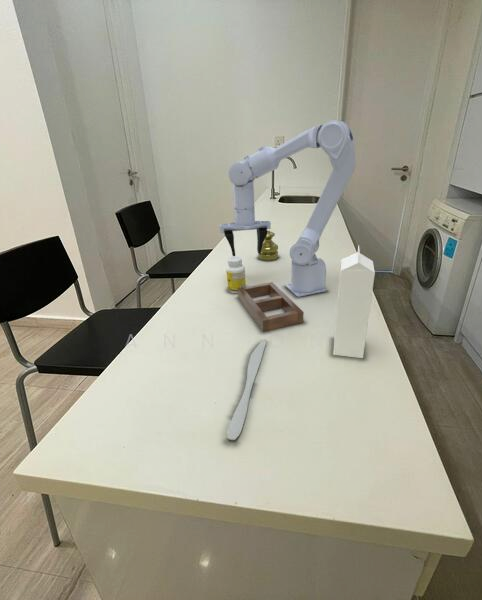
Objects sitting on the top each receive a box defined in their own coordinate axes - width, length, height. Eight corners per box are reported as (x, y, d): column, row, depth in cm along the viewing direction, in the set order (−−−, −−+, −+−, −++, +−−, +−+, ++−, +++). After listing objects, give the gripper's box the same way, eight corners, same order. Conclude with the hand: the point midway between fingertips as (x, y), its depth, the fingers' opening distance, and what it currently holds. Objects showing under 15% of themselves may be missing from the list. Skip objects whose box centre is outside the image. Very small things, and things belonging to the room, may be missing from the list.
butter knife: (219, 436, 50) (238, 438, 50) (256, 339, 74) (269, 340, 73) (219, 439, 50) (238, 441, 50) (256, 342, 74) (269, 342, 73)
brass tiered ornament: (281, 256, 124) (281, 229, 119) (271, 262, 118) (271, 235, 114) (264, 253, 127) (264, 227, 123) (254, 259, 122) (253, 232, 117)
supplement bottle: (227, 286, 101) (225, 256, 96) (245, 285, 101) (243, 255, 97) (228, 294, 96) (225, 262, 91) (246, 293, 96) (245, 261, 92)
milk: (333, 355, 68) (341, 254, 58) (334, 339, 74) (341, 243, 64) (363, 358, 67) (377, 255, 57) (362, 342, 72) (374, 244, 62)
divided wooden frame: (272, 291, 97) (272, 281, 95) (303, 322, 80) (303, 311, 79) (238, 297, 94) (237, 288, 92) (263, 331, 77) (262, 320, 76)
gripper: (219, 212, 88) (223, 260, 94) (272, 208, 90) (273, 256, 96) (217, 207, 94) (221, 252, 100) (267, 204, 96) (268, 248, 102)
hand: (246, 254), depth 99 cm, fingers open, 7 cm apart
